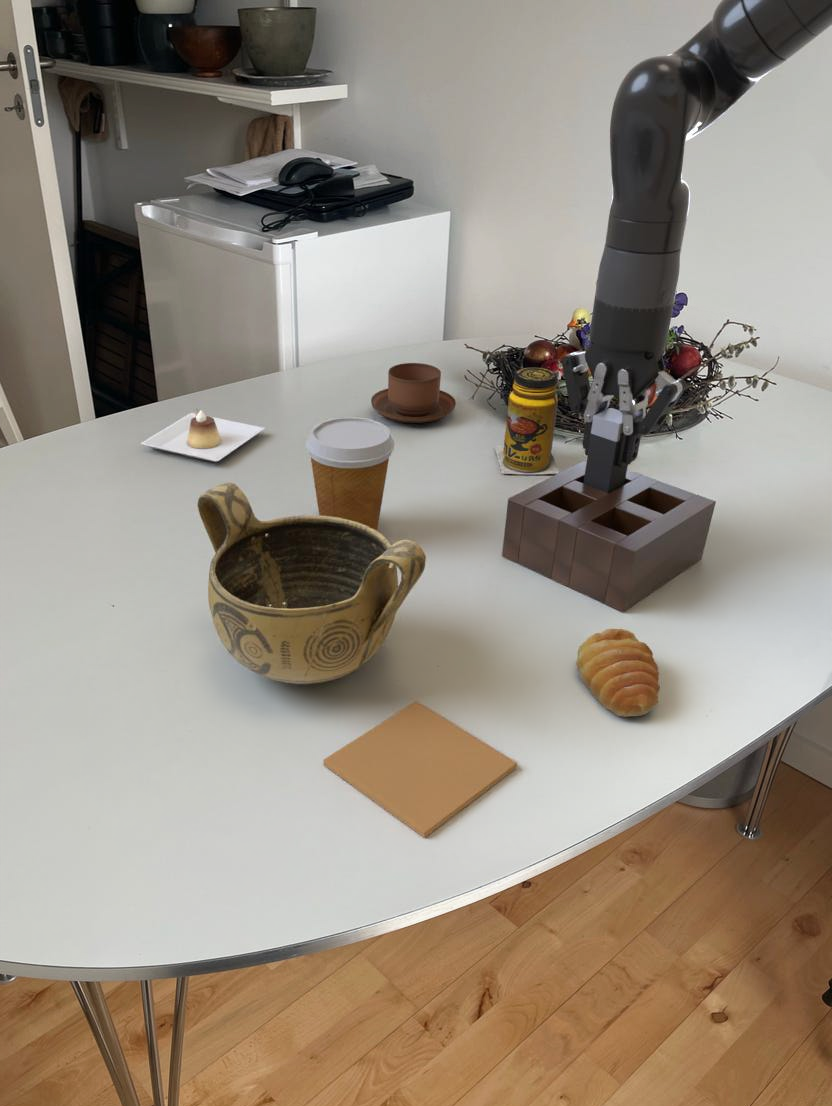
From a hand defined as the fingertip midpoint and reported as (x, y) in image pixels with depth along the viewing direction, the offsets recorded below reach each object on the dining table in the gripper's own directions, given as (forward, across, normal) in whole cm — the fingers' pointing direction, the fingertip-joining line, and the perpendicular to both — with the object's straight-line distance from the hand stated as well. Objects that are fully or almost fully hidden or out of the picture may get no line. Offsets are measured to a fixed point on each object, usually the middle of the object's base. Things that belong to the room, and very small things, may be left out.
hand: (607, 458), depth 104 cm
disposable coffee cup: (+10, +20, +19) cm, 29 cm away
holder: (+10, -3, +3) cm, 11 cm away
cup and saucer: (+10, +39, -12) cm, 42 cm away
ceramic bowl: (+10, +5, +39) cm, 41 cm away
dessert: (+9, +51, +16) cm, 54 cm away
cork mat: (+10, -12, +42) cm, 45 cm away
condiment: (+10, +18, -11) cm, 23 cm away
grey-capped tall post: (+8, 0, 0) cm, 8 cm away
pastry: (+10, -17, +21) cm, 29 cm away
